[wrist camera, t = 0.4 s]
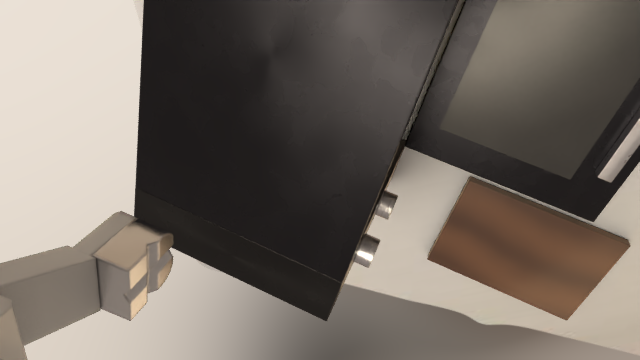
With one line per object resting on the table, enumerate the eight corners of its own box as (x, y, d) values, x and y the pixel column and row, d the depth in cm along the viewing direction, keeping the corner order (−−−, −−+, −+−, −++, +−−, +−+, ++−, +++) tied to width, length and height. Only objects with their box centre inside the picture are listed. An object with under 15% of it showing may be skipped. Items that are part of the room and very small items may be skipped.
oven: (327, -197, 46) (156, -310, 24) (800, -59, 39) (1184, -34, 17) (260, 125, 66) (133, 229, 44) (565, 252, 60) (599, 451, 37)
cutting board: (469, 176, 59) (469, 180, 58) (628, 240, 56) (630, 245, 55) (428, 254, 67) (427, 259, 66) (565, 314, 64) (566, 320, 63)
